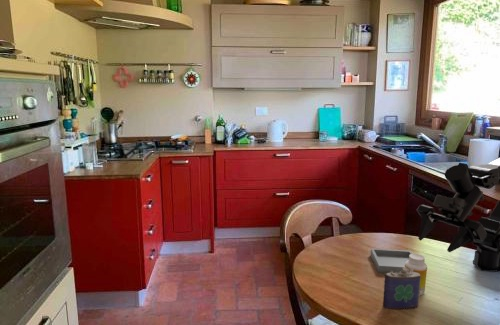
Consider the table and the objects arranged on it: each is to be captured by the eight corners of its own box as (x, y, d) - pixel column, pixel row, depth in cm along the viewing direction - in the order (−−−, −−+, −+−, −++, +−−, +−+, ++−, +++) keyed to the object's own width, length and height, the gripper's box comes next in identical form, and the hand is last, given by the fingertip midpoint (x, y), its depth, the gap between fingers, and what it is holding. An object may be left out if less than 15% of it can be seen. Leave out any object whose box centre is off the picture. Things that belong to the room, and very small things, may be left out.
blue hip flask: (414, 303, 101) (418, 265, 99) (420, 309, 98) (424, 270, 96) (380, 304, 100) (383, 266, 98) (385, 311, 97) (389, 271, 95)
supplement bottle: (428, 291, 107) (431, 257, 105) (418, 298, 103) (421, 262, 101) (409, 284, 111) (412, 250, 109) (398, 290, 107) (402, 255, 105)
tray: (410, 257, 128) (411, 250, 128) (423, 276, 116) (423, 268, 115) (370, 255, 130) (370, 248, 129) (378, 273, 117) (379, 265, 117)
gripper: (423, 178, 115) (394, 218, 112) (485, 193, 99) (453, 240, 96) (438, 200, 120) (410, 239, 117) (499, 218, 104) (469, 264, 101)
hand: (433, 245), depth 107 cm, fingers open, 9 cm apart
